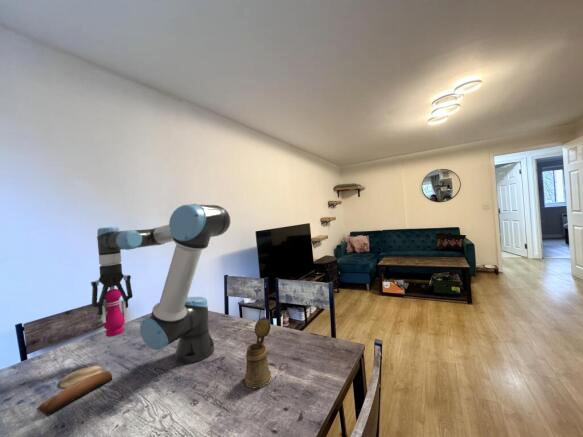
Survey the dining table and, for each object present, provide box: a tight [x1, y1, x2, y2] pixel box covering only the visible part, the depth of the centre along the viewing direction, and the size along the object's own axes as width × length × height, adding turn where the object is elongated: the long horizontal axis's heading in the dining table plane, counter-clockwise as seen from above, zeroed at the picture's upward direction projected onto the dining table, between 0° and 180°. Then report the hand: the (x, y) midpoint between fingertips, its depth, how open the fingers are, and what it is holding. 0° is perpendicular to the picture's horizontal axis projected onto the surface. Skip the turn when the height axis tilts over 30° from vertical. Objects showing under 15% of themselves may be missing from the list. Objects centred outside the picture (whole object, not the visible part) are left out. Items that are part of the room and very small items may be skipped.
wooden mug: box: [244, 316, 272, 388], centre depth 88 cm, size 9×14×18 cm, turn 164°
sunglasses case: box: [36, 371, 113, 417], centre depth 83 cm, size 18×7×7 cm
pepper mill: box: [103, 286, 126, 338], centre depth 105 cm, size 7×7×20 cm
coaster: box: [59, 365, 103, 389], centre depth 93 cm, size 12×12×1 cm
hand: (114, 319), depth 105 cm, fingers closed on pepper mill, 6 cm apart
